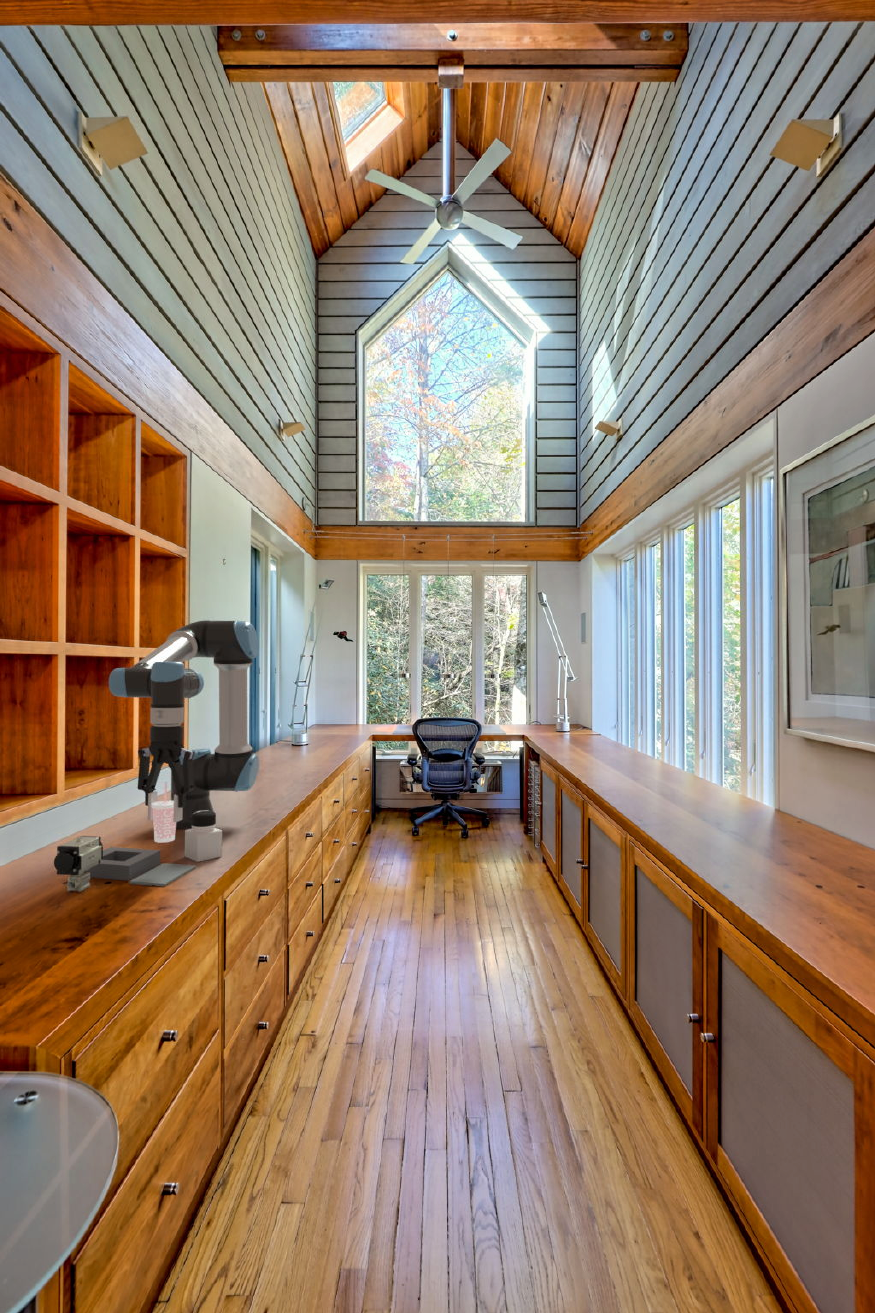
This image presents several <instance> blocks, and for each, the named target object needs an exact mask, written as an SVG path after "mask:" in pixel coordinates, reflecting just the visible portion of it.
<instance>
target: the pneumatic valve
mask: <svg viewBox="0 0 875 1313" xmlns="http://www.w3.org/2000/svg"><path fill="white" fill-rule="evenodd" d="M101 839H102V838H101V836H95V835H94V836H93V835H92V836H91V835H88V836H87V835H78V836H77V837H76V838H74V839H71V840H70V841H67V842H65V843H63V844H60V845H58V846H57V847H56V856H55V857H54V859H53V866H54V868H55V870H56V875H61V876H62V875H63V876H64V875H66V876H67V878H66V880H67V883H66V887H67V889H66V890H67V892H71V891H72V892H79V893H80V892H83V891H84V890H86V889H88V888H90V887H91V883H90V880H91V878H90V873H89V872H87V873H82V872H84V871H87V870H89V869H90V868H91V867H93V866H95V865H97V864H99V863H100V860H101V859H102V858H103V850H104V845H103V843H102V840H101Z"/></svg>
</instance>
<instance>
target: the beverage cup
mask: <svg viewBox="0 0 875 1313" xmlns="http://www.w3.org/2000/svg"><path fill="white" fill-rule="evenodd" d="M167 790H168V782H164V795H163V796H164V798H163V799H164V800H160V801H158V800H157V802H154V803H152V808H153V820H152V821H153V838H154V839H153V841H154V842H155V843H158V844H159V843H160V844H161V843H169V842H170V843H171V842H173V841H175V840H176V830H177V828H176V822H173V817H174V801H171V800H167V799H168V798H167V794H168V793H167V792H168V791H167Z"/></svg>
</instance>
